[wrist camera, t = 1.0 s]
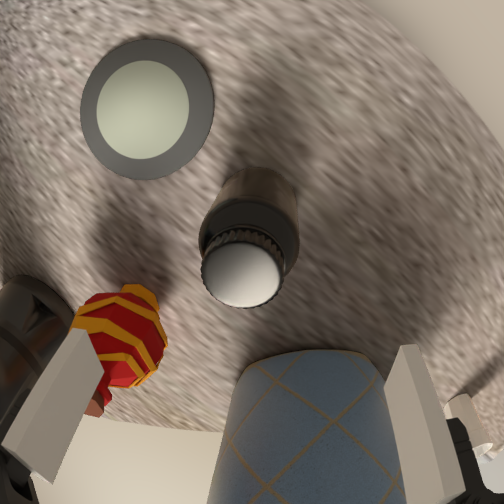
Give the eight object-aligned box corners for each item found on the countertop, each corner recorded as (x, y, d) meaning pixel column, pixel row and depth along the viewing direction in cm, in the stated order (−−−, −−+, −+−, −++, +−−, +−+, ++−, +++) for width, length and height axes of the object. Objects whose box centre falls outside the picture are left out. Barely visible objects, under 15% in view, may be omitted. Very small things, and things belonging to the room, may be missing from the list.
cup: (432, 412, 43) (447, 465, 33) (457, 389, 39) (477, 443, 30) (456, 414, 43) (471, 462, 33) (479, 391, 40) (499, 441, 30)
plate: (91, 181, 29) (88, 183, 28) (80, 56, 22) (76, 56, 22) (217, 176, 28) (215, 178, 27) (212, 30, 21) (210, 29, 21)
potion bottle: (143, 248, 32) (70, 350, 19) (197, 321, 36) (161, 433, 23) (84, 283, 35) (16, 370, 22) (134, 343, 39) (90, 436, 26)
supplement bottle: (217, 166, 27) (175, 219, 17) (296, 165, 27) (306, 218, 16) (222, 237, 30) (191, 319, 20) (295, 237, 30) (300, 323, 19)
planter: (381, 422, 44) (398, 549, 23) (245, 435, 48) (229, 560, 27) (397, 322, 34) (453, 514, 13) (206, 344, 37) (158, 531, 17)
